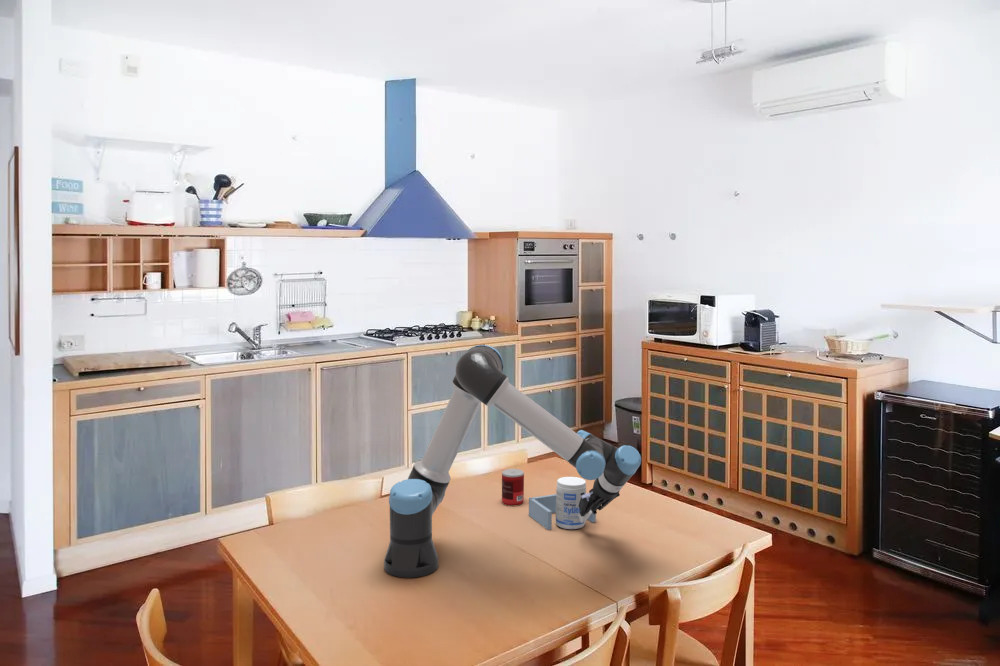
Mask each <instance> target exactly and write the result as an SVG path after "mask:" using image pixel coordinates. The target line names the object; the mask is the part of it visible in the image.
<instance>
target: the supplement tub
mask: <svg viewBox="0 0 1000 666" xmlns="http://www.w3.org/2000/svg"><path fill="white" fill-rule="evenodd" d="M555 490H556V491H555V494H556V513H555V524H556V525H557V526H558V528H559V527H560V528H562V529H565V530H578V529H581V528H583V527H584V526H585V524H586V521H585V522H583V523H581V522H580V520H579V517H578V514H579V513H580V509H579V506H578V505H579V502H580V499H581V493H583V492H584V493H586V494H587V482H586V479H584V478H582V477H576V476H563V477H560V478H558V479H557V481H556V489H555Z"/></svg>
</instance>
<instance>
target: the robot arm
mask: <svg viewBox="0 0 1000 666" xmlns="http://www.w3.org/2000/svg"><path fill="white" fill-rule="evenodd" d="M503 370H504V360H503V357H502V355H501V353H500V352H499V351H498V349H496V348H494V347H493V346H490V345H488V344H487V345H486V344H476V345H475V346H472V347H471V348H468V350H467V352H465V353H463V355H461V356H460V357H459V359H458V361H457V363H456V366H455V376H454V377H453V379H452V386H453V388H454V389H453V392H452V394H451V396H450V399H449V400H448V403H447V405H446V407H445V409H444V411H443V414H442V415H441V419H440V420H439V422H438V425H437V427H436V429H435V431H434V433H433V435H432V436H431V437H432V438H431V440H430V443H429V444H428V447H427V448H426V451H425V452H424V454H423V457H422V459H421V460H417V461H415V463H414V465H413V467H412V468H411V471H410V473H409V475H408V477H407V479H403V480H401V481H398V482H396V483H394V484H393V486H391V488H390V491H389V496H388V503H389V504H388V505H389V536H390V537H389V544H388V546H387V550H386V553H385V556H384V559H383V568H384V571H385V572H386V573H387V574H388V575H391V576H394V577H398V578H404V579H405V578H407V579H408V578H409V579H411V578H412V579H413V578H419V577H424V576H427V575H430V574H433V573H434V572H435V571H437V570H438V568H439V555H438V552H437V550H436V546H435V543H434V540H433V515H434V513H435V512H436V510H437V508H438V507H439V506H440V504H442V502H443V500H444V498H445V495H446V491H447V489H448V487H449V485H450V481H451V475H450V473H449V472H450V470H451V468H452V466H453V463H454V461H455V459H456V457H457V455H458V453H459V451H460V449H461V446H462V444H463V442H464V440H465V437H466V436H467V433H468V431H469V429H470V427H471V425H472V423H473V421H474V418H475V416H476V414H477V413H478V410H479V407H480V406H481V403H482V404H483V405H484V406H487V407H488V406H493V407H494V408H495V409H496V410H498V411H499V412H501V413H502V414H503V415H505V416H506V417H507V418H509V419H510V420H512V421H513V422H514V423H515V424H517V426H520V427H521V428H522V429H523V430H525V431H526V432H527V433H529V434H530V435H531V436H532V437H534V438H535V439H537V440H538V441H540V443H542V444H544V446H546V447H547V448H549V449H550V450H551V451H552V452H554V453H555V454H557V455H558V456H560V457H561V458H563V460H565V461H566V462H567V463H568V464H570V465H571V466H573V467H574V468H575V469H576V472H577V474H578V475H579V476H580V478H582V479H584V480H585V481H586V480H587V481H593V487H592V488H591V489H589V491H588V492H586V493H584V492H583V493H581V499H580V502H579V505H578V506H579V509H580V513H579V514H578V517H579V520H580V522H581V523H583V522H585V523H586V522H587V519H588V518H589V516H590V515H591V514H592V513H593V514H596V515H597V514H598V513H597V512H598V511H601V510H603V509H604V508H605V507H607V506H608V505H609V504H610V503H611V502H613V501H614V500H615V499H616V498H618V497H620V495H621V494H620V491H621V490H622V489H623V488H624V487H625V485H626V484H627V482H629V480H630V479H631V478H632V477H633V476H634V475H635V473H636V472H637V470H638V469H639V467H640V466H641V464H642V456H641V453H639V450H638V449H636V448H635V447H633V446H632V445H624V444H623V445H621V446H620V447H617V446H614V445H613V444H611V443H609V442H606V441H605V440H603V439H601V438H599V437H598V436H595V435H593V433H590V432H588V431H585V430H583V429H579V430H578V431H577V432H575V431H574V430H572V429H571V428H570V427H569V426H568V425H566V424H565V423H564V422H562V421H561V420H559V419H558V418H557V417H556V416H554V415H553V414H552V413H550V412H548V410H546V409H544V408H543V407H542V406H541V405H539V404H538V403H537V402H536V401H534V400H532V398H531V397H529V396H527V395H526V394H525V393H523V392H522V391H521V390H520V389H518V388H517V387H515V386H514V385H513V384H511V382H510V380H509V377H508V376H507V375H506V374H504V373H503V372H504V371H503ZM597 510H598V511H597Z"/></svg>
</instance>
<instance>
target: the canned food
mask: <svg viewBox="0 0 1000 666" xmlns="http://www.w3.org/2000/svg"><path fill="white" fill-rule="evenodd" d="M524 487H525V472H524V471H523V470H522V469H517V468H508V469H507V468H506V469H505V470H503V471H501V502H502V504H503V503H504V504H503V505H505V504H506V506H508V505H518V506H521V505H522V504H524V501H525V500H524V498H525V496H524V495H525V488H524ZM520 504H521V505H520Z"/></svg>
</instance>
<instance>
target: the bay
mask: <svg viewBox="0 0 1000 666" xmlns="http://www.w3.org/2000/svg"><path fill="white" fill-rule="evenodd" d="M552 514H556V493H554V494H548V495H540V496H533V497H529V498H528V516H529V517H530V518H532V519H533V520H534V521H535V522H537V523H538V524H539V525H540V526H542V527H543V528H544V529H546V530H548V531H551V530H552V520H553V519H552V517H553V516H552ZM596 520H597V514H593V513H592V514H591V515H590V516H589V518H588V521H589V522H590V521H591V523H592V524H593V522H595V523H596V522H597V521H596Z"/></svg>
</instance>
